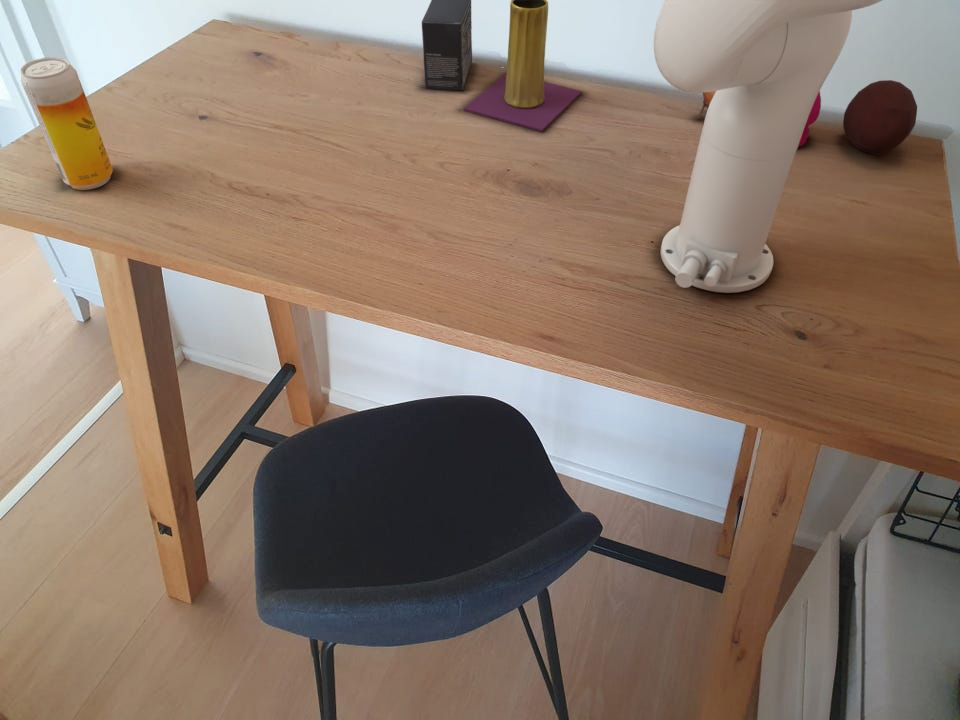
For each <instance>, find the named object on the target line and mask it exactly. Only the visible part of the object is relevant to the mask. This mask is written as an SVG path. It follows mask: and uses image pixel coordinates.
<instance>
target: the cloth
mask: <svg viewBox="0 0 960 720" xmlns="http://www.w3.org/2000/svg"><path fill="white" fill-rule="evenodd" d="M506 75H507V73H505V74H504V75H502V76H501V77H500V78H499V79H498V80H497V81H495V82H494V83H493V84H492V85H490V86H489V87H487V89H485V90H484V91H483V92H482V93H480V95H478V96H477V97H476V98H474V99H473V100H472V101H470V102H469V103H468V104H467V105H466V106H465V107H463V111H465V112H468V113H471V114H474V115H478V116H482V117H486V118H489V119H494V120H497V121H500V122H504V123H507V124H511V125H514V126H519V127H521V128H526V129H530V130H533V131H537V132H541V133H543V132H544V131H545V130H546V129H547V128H548V127H549V126H550V125H551V124H552V123H553V122H554V121H555V120H556V119H557V118H558V117H559V116H560V115H562V113H564V111H565V110H567V109H568V108H569V106H570V105H572V104H573V103H574V102H575V101H576V100H577V99H578V98H579V97H580V96H581V95H582V93H583V92H582V91H581V90H579V89H574V88H570V87H565V86H562V85H558V84H554V83H550V82H546V81H544V98H545V99H544V102H543V103H542V104H541V105H539V106H537V107H534V108H517V107H513V106H511V105H509V104H508V103H506V101H505V100H504V95H505V89H506Z"/></svg>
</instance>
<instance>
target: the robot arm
mask: <svg viewBox="0 0 960 720" xmlns="http://www.w3.org/2000/svg"><path fill="white" fill-rule="evenodd" d="M880 2H883V0H664V2H663V4H662V6H661V8H660V10H659V12H658V13H659V14H658V17H657V20H656V23H655V28H654V33H653V55H654V60H655V64H656V67H657V69H658V71H659V73H660V74H661V76H662V77H663V78H664V79H665V80H666V82H667V83H669V84H670V85H671V86H673V87H674V88H676V89H678V90H679V91H683V92H685V93H686V92H687V93H690V94H691V93H693V94H701V93H702V94H703V92H711V91H716V92H715V94H714V96H713V98H712V101H711V103H710V105H709V108H707V111H706V114H705V118H704V122H703V125H702V129H701V133H700V137H699V141H698V146H697V150H696V155H695V158H694V163H693V167H692V172H691V176H690V180H689V183H688V189H687V193H686V197H685V201H684V207H683V210H682V214H681V219H680V223H679V225H676V226H675V227H673V228H671V229H670V230H669V231H667V233H666V234H665V235H664V236H663V238H662V242H661V246H660V252H659V253H660V257H661V261H662V263H663V264H664V266H665V267H666V269H667V270H668V271H669V272H670V273H671V274H672V275H673V276H675V277H674V280H675V283H676V284H677V285H678V286H679V287H681V288H684V289H685V288H686V289H688V288H690V287H691V286H692V287H695V288H698V289H701V290H703V291H704V290H705V291H707V292H708V291H709V292H714V293H725V294H730V293H732V294H733V293H741V292H747V291H750V290H752V289H755V288H757V287H760V286H761V285H762V284H764V283H765V282H766V281H767V280H768V278H769V277H770V275H771V273H772V271H773V268H774V267H773V266H774V263H775V262H774V255H773V253H772V250H771V249H770V248H769V246H768V245H767V244H766V242H767V240H768V237H769V234H770V230H771V228H772V225H773V222H774V218H775V215H776V213H777V209H778V206H779V203H780V201H781V199H782V195H783V192H784V189H785V185H786V183H787V180H788V177H789V174H790V171H791V168H792V165H793V161H794V159H795V156H796V153H797V150H798V148H799V147H798V145H799V142H800V139H801V136H802V133H803V130H804V128H805V125H806V122H807V119H808V116H809V114H810V111H811V109H812V106H813V104H814V102H815V99H816V97H817V95H818V93H819V91H820V92H821V89H822V87H823V86H824V83H825V82H826V80H827V78H828V76H829V75H830V73H831V71H832V69H833V67H834V66H835V64H836V62H837V60H838V58H839V56H840V54H841V53H842V50H843V48H844V46H845V44H846V41H847V38H848V36H849V32H850V29H851V24H852V17H853V11H855V10H859V9H863V8H867V7H870V6H873V5H875V4H876V5H877V4H878V3H880Z"/></svg>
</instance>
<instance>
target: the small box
mask: <svg viewBox="0 0 960 720" xmlns="http://www.w3.org/2000/svg"><path fill="white" fill-rule="evenodd" d="M472 23H473V22H472V0H430V2H429V5H428V7H427V9H426V11H425V14H424V16H423V18H422V20H421V37H422V50H423V51H422V56H423V72H424V73H423V75H424V88H425V89H428V90H429V89H432V90H443V91H444V90H445V91H447V90H448V91H460V92H462V91H464V89H465V87H466V83H467V80H468V77H469V74H470V72H471V69H472V68H471V67H472V65H473V39H472V37H473V36H472V30H473V29H472V28H473V26H472Z"/></svg>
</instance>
